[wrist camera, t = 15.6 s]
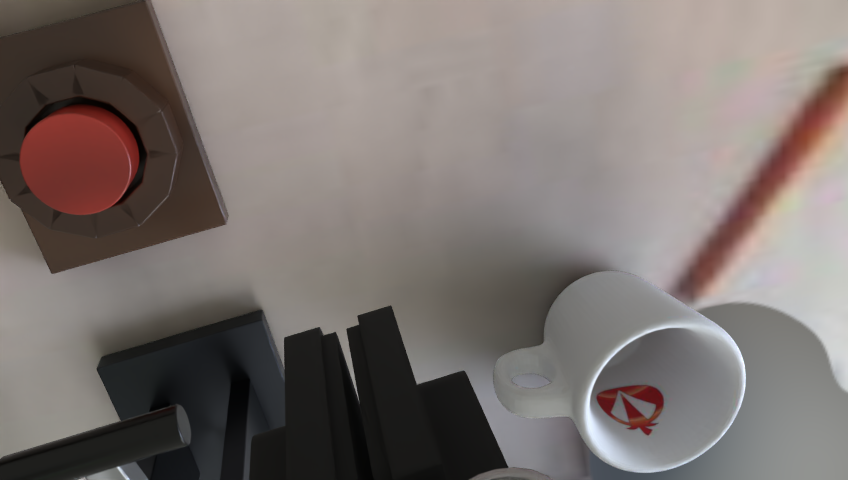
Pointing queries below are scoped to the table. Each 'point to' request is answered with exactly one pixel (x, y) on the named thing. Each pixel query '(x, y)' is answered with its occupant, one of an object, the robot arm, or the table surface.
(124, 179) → the button
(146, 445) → the lever
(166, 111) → the button block
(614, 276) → the cup
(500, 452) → the robot arm
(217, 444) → the bracket
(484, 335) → the table surface
